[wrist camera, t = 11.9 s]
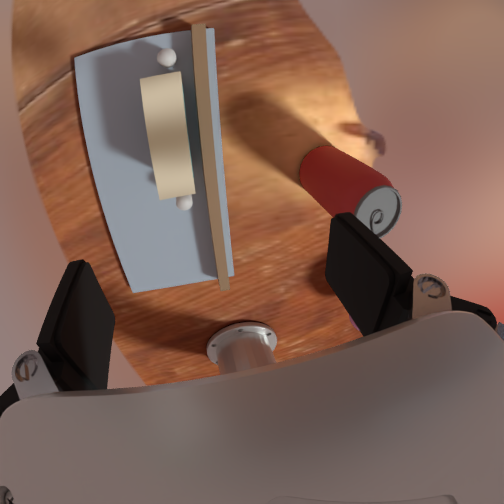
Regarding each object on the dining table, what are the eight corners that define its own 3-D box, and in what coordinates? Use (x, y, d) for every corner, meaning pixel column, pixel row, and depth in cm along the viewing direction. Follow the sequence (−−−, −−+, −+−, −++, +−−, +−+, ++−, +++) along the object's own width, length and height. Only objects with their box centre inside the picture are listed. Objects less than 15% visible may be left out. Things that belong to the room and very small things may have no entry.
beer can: (296, 196, 33) (344, 251, 24) (297, 145, 30) (354, 182, 20) (342, 192, 34) (398, 240, 25) (346, 144, 31) (412, 179, 21)
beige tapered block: (192, 168, 27) (196, 193, 22) (163, 173, 27) (159, 200, 21) (182, 75, 21) (181, 71, 16) (150, 80, 21) (139, 79, 15)
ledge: (232, 271, 38) (239, 293, 34) (133, 288, 35) (130, 311, 32) (212, 29, 20) (218, 20, 16) (77, 58, 18) (60, 55, 14)
